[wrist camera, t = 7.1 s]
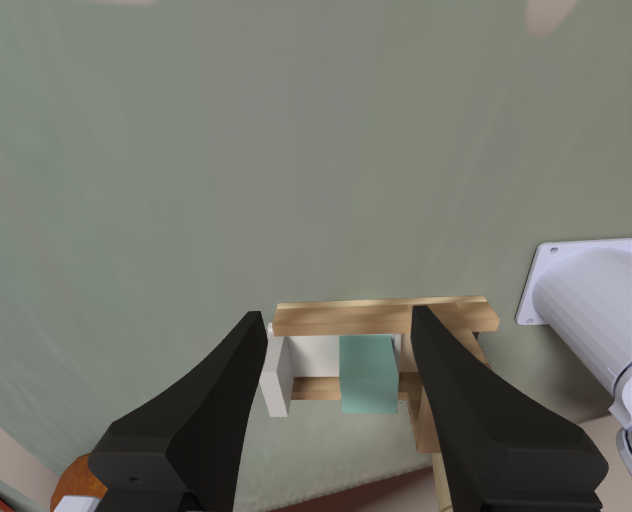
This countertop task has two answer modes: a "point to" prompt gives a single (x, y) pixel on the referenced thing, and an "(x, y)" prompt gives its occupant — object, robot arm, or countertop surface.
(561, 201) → the countertop surface
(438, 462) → the flower pot
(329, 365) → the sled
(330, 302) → the wooden frame
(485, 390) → the robot arm
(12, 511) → the cracker box
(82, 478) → the bread
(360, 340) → the block
